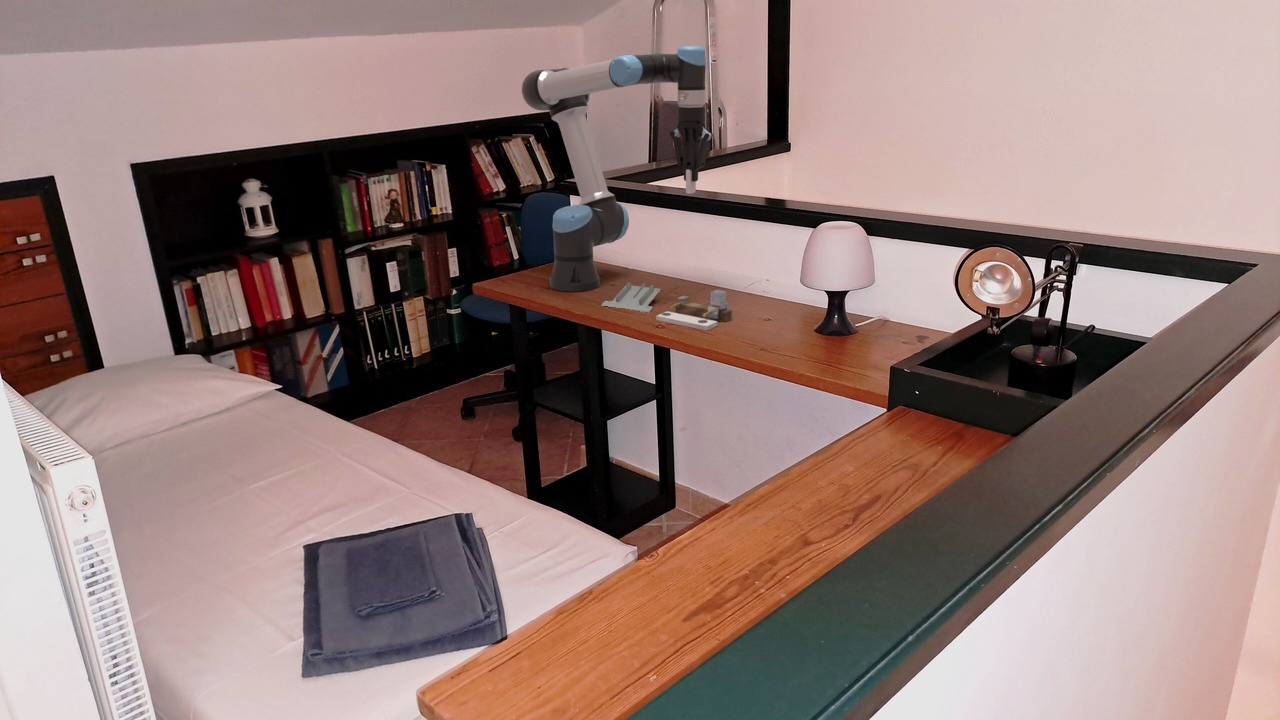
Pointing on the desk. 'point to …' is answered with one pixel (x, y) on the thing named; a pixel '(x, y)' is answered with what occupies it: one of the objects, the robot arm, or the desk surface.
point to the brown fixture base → (698, 309)
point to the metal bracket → (634, 298)
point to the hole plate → (686, 320)
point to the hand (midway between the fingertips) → (690, 192)
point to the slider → (716, 304)
